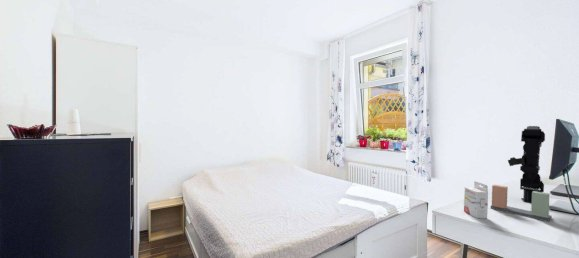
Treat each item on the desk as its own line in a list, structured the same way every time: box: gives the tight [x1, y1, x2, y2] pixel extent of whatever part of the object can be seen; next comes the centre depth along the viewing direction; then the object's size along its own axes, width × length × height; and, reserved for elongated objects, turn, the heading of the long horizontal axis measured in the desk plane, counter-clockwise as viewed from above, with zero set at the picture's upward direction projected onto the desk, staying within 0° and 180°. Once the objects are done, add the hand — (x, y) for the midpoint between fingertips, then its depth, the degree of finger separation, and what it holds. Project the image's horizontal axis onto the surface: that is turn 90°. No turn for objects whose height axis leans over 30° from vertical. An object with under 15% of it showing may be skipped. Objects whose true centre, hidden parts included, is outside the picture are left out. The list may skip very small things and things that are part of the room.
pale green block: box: [530, 191, 551, 218], centre depth 108 cm, size 4×5×10 cm
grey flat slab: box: [490, 204, 553, 222], centre depth 115 cm, size 6×20×1 cm, turn 36°
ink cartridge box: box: [463, 180, 489, 219], centre depth 111 cm, size 9×5×15 cm, turn 179°
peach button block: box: [491, 184, 509, 209], centre depth 119 cm, size 4×5×10 cm
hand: (529, 184), depth 122 cm, fingers closed
